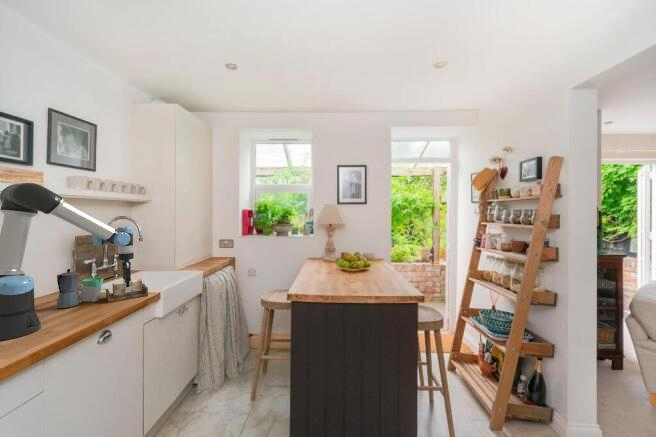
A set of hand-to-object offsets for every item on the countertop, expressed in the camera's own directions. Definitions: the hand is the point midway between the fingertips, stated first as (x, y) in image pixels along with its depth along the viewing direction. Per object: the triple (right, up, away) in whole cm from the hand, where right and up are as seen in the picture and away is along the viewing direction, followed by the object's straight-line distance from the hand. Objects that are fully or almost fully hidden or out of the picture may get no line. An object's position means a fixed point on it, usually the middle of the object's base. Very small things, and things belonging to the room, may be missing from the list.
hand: (127, 291), depth 169 cm
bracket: (-17, -4, -8) cm, 19 cm away
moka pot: (-20, -4, -17) cm, 26 cm away
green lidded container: (-24, -4, +5) cm, 25 cm away
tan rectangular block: (0, -1, 0) cm, 1 cm away
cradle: (0, -3, 0) cm, 3 cm away
